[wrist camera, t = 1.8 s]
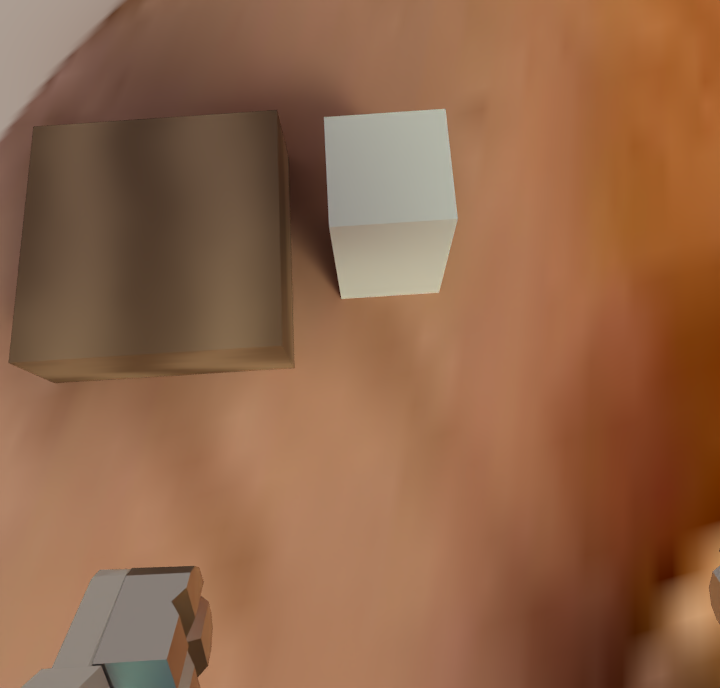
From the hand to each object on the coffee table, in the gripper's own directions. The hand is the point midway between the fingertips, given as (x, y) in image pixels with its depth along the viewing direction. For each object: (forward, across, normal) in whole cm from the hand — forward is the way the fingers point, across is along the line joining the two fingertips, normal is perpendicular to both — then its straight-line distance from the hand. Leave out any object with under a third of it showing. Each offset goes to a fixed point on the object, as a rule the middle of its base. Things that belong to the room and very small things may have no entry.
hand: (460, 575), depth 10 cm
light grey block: (+24, 0, +3) cm, 24 cm away
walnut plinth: (+24, +11, +3) cm, 27 cm away
